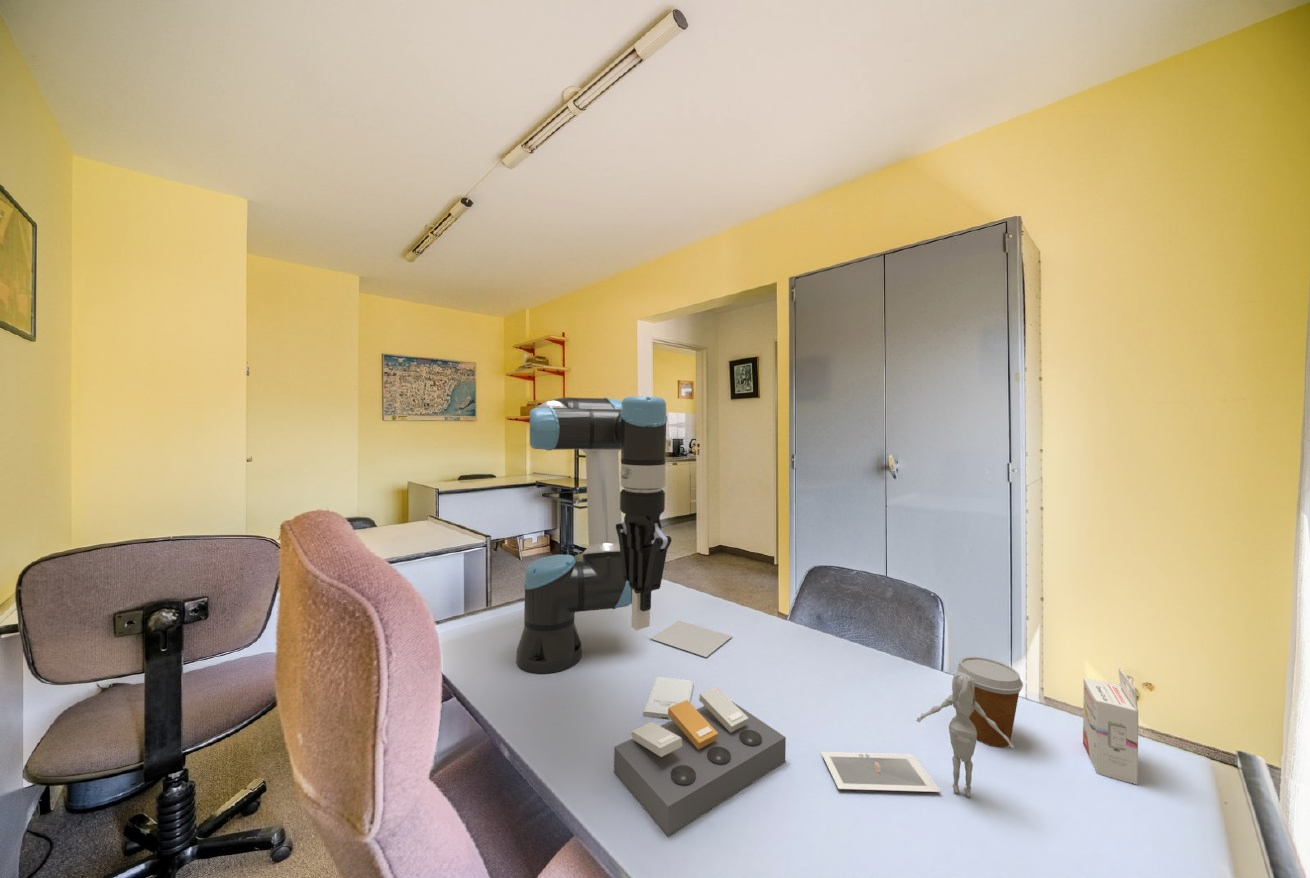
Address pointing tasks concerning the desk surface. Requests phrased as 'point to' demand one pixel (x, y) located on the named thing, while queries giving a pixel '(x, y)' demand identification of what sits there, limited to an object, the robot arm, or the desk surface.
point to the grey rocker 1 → (656, 739)
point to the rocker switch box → (698, 769)
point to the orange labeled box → (692, 724)
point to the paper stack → (692, 638)
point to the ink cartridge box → (1111, 728)
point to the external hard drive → (667, 696)
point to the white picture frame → (878, 772)
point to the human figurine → (963, 726)
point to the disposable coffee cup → (993, 697)
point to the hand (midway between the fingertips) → (640, 626)
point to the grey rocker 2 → (723, 709)
